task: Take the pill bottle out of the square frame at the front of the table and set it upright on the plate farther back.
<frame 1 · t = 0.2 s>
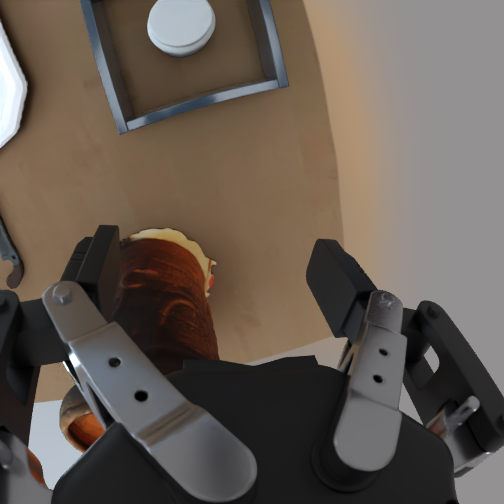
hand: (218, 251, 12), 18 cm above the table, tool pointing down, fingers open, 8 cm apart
vessel: (159, 280, 35), on the table
square frame: (182, 33, 22), on the table
pill bottle: (182, 33, 22), resting in square frame
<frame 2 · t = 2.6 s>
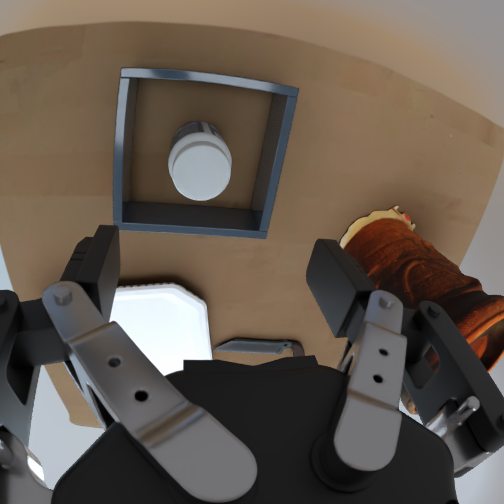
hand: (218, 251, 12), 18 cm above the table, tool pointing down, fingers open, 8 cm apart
vessel: (379, 252, 39), on the table
square frame: (197, 145, 27), on the table
plate: (132, 338, 39), on the table
pill bottle: (197, 145, 28), resting in square frame
knife: (262, 346, 44), on the table
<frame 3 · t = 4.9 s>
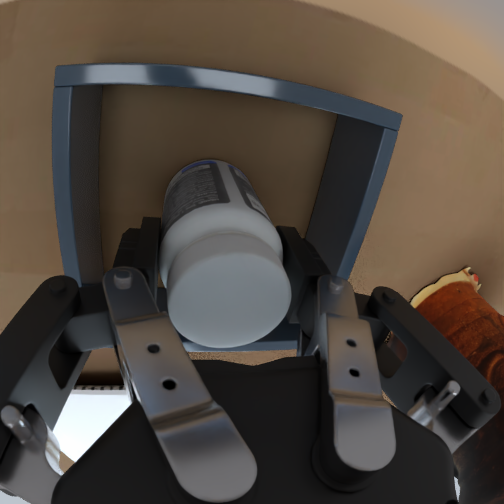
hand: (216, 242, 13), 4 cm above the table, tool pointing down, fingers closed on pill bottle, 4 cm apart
vessel: (437, 319, 28), on the table
square frame: (209, 200, 17), on the table
plate: (129, 424, 28), on the table
pill bottle: (209, 198, 17), resting in square frame, touching gripper
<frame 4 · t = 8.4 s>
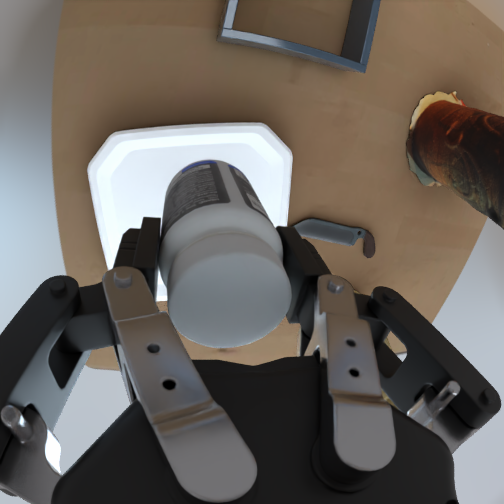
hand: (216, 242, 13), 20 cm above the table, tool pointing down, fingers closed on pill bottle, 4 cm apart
vessel: (442, 137, 35), on the table
plate: (191, 213, 35), on the table
pill bottle: (209, 198, 17), point 16 cm above the table, touching gripper
knife: (334, 235, 40), on the table
when the fingers open (7 cm above the table, at t = 12.1 s): pill bottle stays where it is, resting on plate.
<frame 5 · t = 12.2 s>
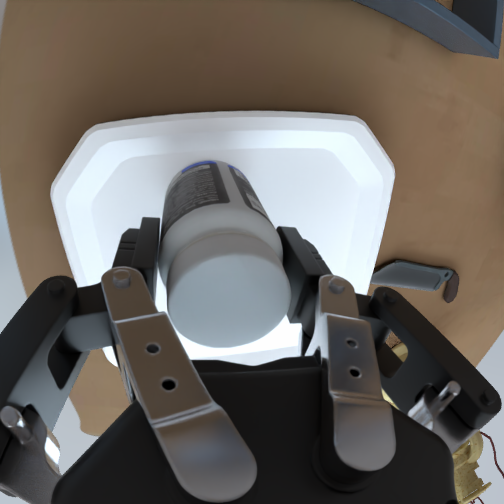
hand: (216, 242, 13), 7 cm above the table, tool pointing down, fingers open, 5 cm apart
lantern: (398, 362, 35), on the table
plate: (228, 260, 22), on the table, touching pill bottle
pill bottle: (209, 199, 17), point 2 cm above the table, touching plate
knife: (418, 279, 27), on the table
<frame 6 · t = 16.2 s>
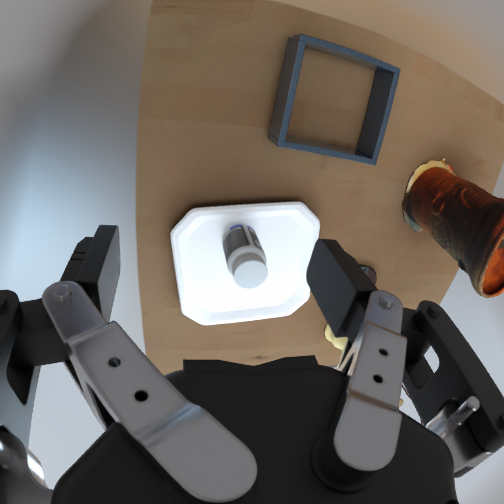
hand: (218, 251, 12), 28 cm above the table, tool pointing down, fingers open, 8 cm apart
vessel: (431, 194, 48), on the table
square frame: (328, 98, 36), on the table
plate: (245, 261, 48), on the table, touching pill bottle
pill bottle: (238, 237, 43), point 2 cm above the table, touching plate
knife: (346, 271, 53), on the table
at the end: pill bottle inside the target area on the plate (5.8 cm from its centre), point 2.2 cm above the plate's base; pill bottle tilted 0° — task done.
